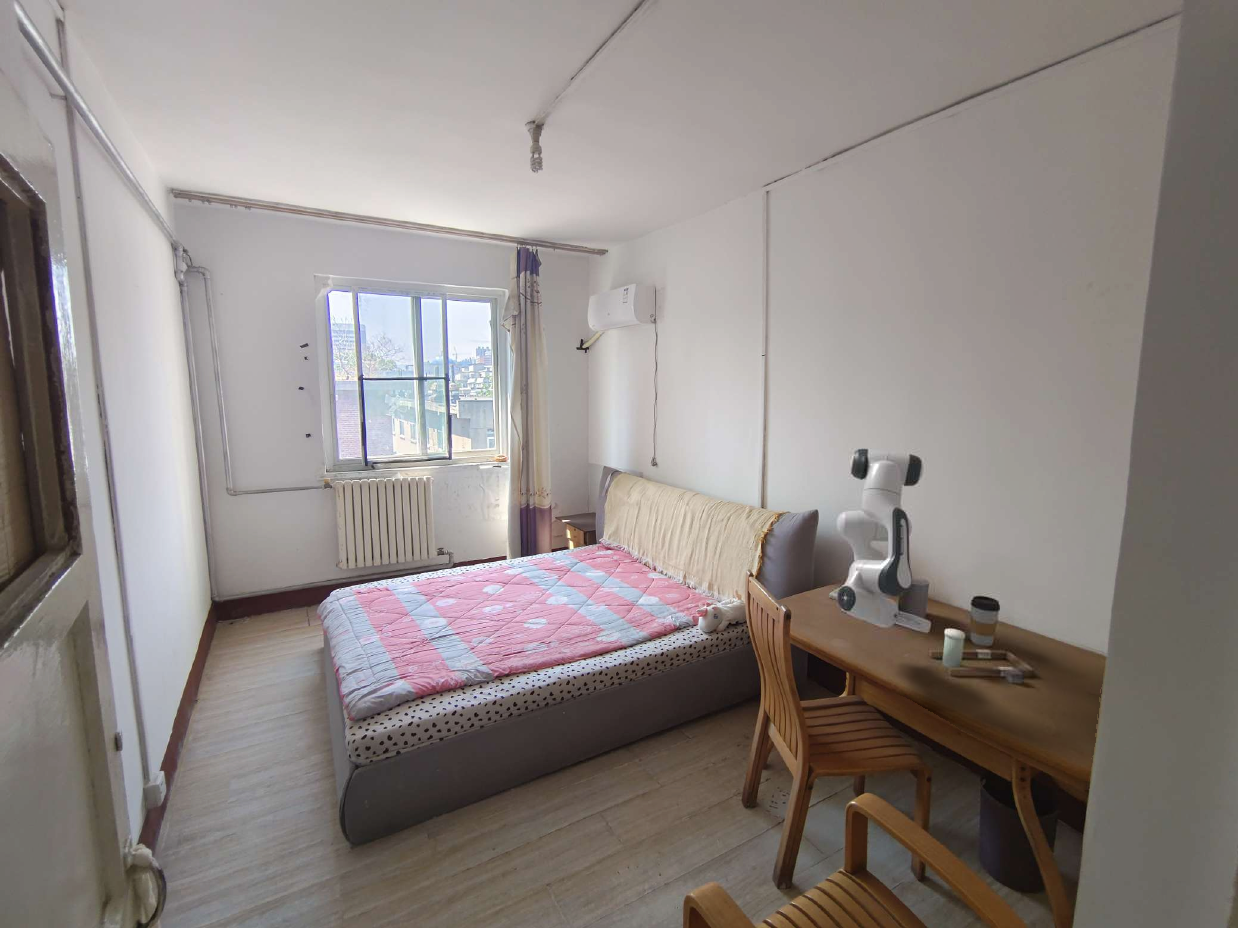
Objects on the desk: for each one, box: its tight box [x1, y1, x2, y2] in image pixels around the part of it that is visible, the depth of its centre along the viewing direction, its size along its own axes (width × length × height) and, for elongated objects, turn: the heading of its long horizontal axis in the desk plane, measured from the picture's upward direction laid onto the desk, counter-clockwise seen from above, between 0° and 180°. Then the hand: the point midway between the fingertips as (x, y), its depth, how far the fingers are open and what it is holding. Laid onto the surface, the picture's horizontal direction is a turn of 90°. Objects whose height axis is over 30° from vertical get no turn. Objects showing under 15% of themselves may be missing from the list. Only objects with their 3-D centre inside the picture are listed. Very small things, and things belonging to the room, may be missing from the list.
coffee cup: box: [969, 595, 1001, 647], centre depth 191 cm, size 8×8×15 cm
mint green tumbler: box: [941, 628, 966, 669], centre depth 176 cm, size 5×5×11 cm
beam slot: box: [927, 649, 1036, 684], centre depth 174 cm, size 16×25×3 cm, turn 89°
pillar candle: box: [897, 574, 930, 619], centre depth 214 cm, size 10×10×15 cm
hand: (912, 623), depth 177 cm, fingers open, 8 cm apart
